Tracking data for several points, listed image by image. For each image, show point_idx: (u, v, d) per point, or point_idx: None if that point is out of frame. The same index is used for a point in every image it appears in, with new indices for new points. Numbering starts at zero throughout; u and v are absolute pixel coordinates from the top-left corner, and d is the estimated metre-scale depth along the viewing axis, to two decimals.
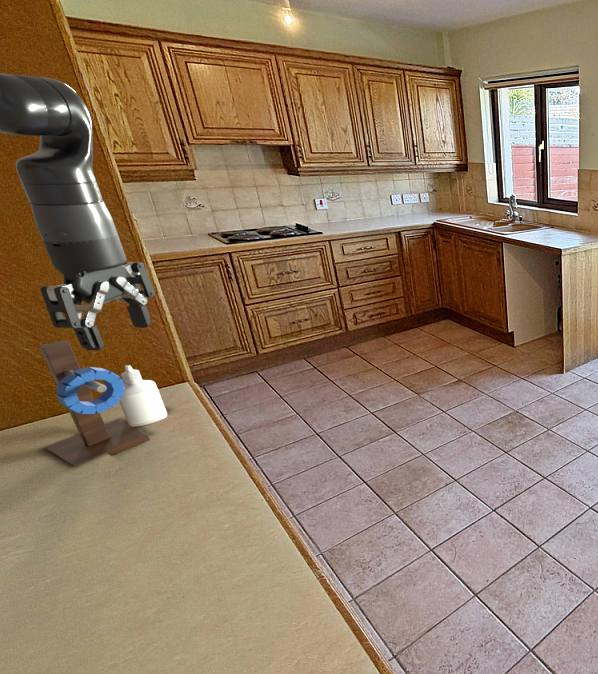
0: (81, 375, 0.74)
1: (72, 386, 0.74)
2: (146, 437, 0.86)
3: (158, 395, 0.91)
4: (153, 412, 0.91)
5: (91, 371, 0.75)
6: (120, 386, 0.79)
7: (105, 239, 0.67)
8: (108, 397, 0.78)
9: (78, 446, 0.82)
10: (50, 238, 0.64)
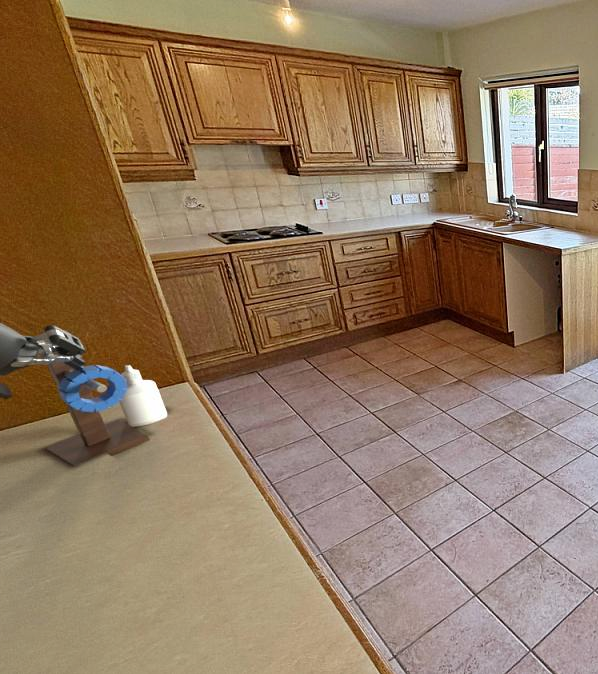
0: (73, 380, 0.74)
1: (70, 391, 0.74)
2: (146, 437, 0.86)
3: (158, 395, 0.91)
4: (153, 412, 0.91)
5: (80, 373, 0.74)
6: (119, 378, 0.79)
7: None
8: (113, 390, 0.79)
9: (78, 446, 0.82)
10: None
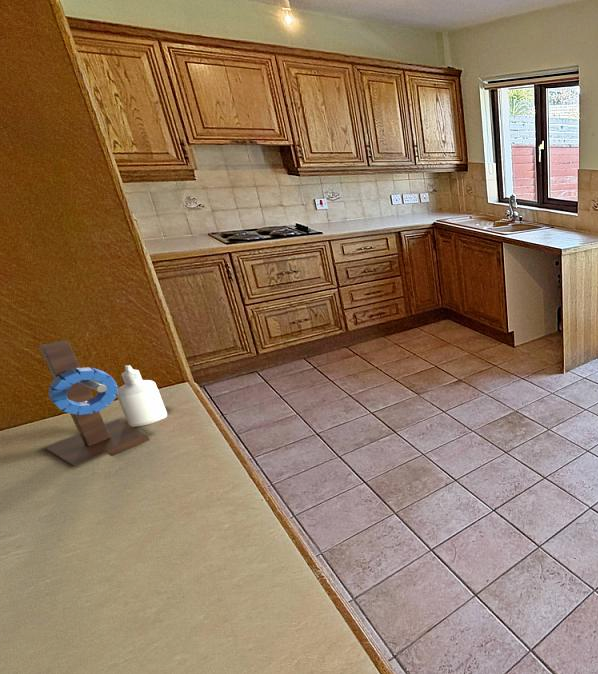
0: (65, 378, 0.73)
1: (59, 389, 0.73)
2: (146, 437, 0.86)
3: (158, 395, 0.91)
4: (153, 412, 0.91)
5: (75, 373, 0.74)
6: (111, 383, 0.78)
7: None
8: (102, 395, 0.77)
9: (78, 446, 0.82)
10: None
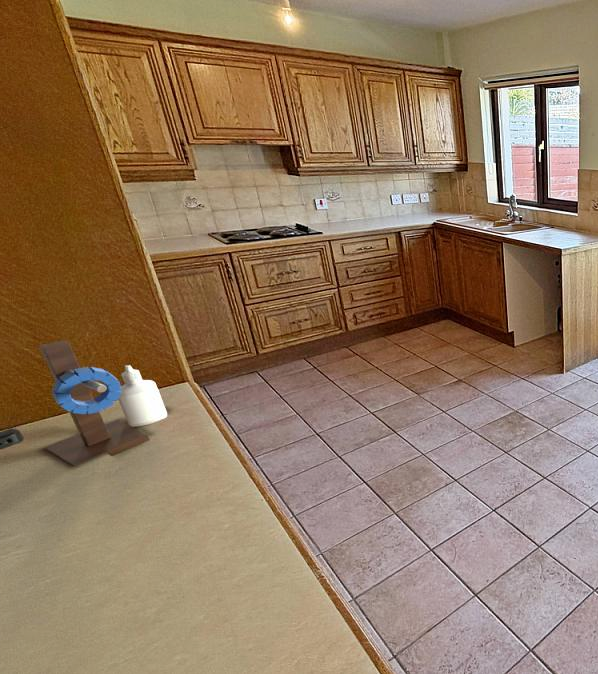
0: (65, 381, 0.73)
1: (62, 393, 0.73)
2: (146, 437, 0.86)
3: (158, 395, 0.91)
4: (153, 412, 0.91)
5: (73, 375, 0.74)
6: (112, 380, 0.78)
7: None
8: (107, 393, 0.78)
9: (78, 446, 0.82)
10: None
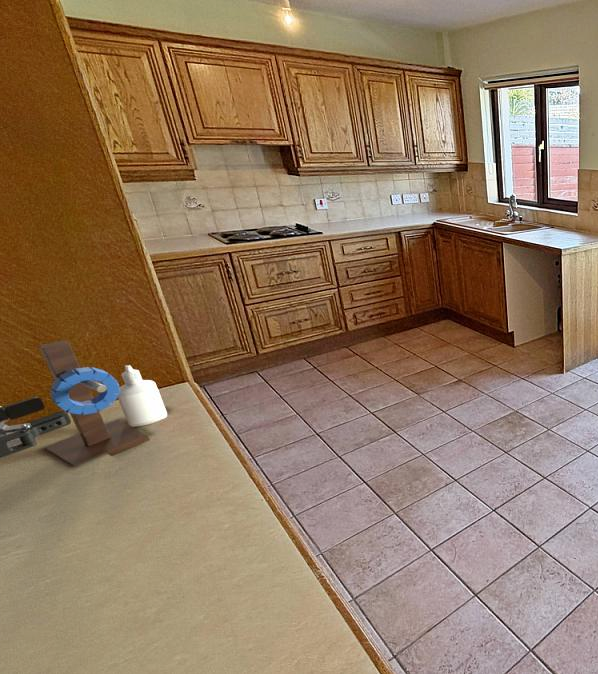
0: (65, 380, 0.73)
1: (61, 391, 0.73)
2: (146, 437, 0.86)
3: (158, 395, 0.91)
4: (153, 412, 0.91)
5: (74, 374, 0.74)
6: (112, 382, 0.78)
7: None
8: (105, 394, 0.78)
9: (78, 446, 0.82)
10: None
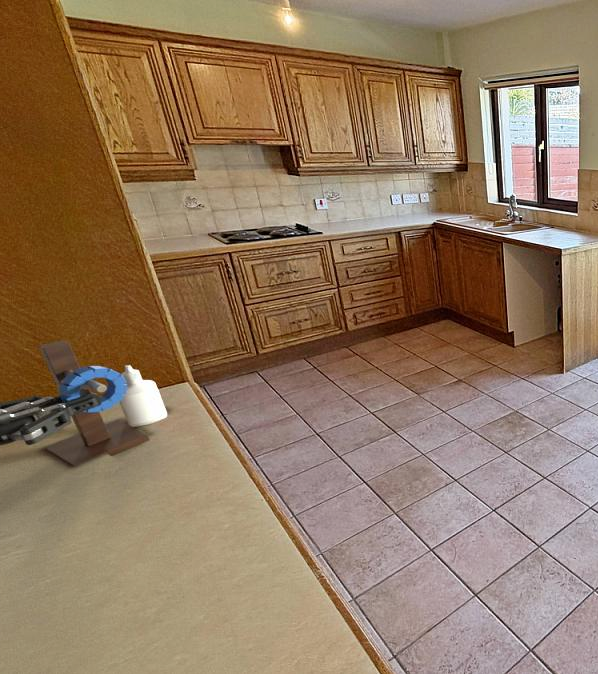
0: (70, 384, 0.73)
1: (71, 395, 0.74)
2: (146, 437, 0.86)
3: (158, 395, 0.91)
4: (153, 412, 0.91)
5: (75, 377, 0.74)
6: (115, 375, 0.78)
7: None
8: (114, 388, 0.79)
9: (78, 446, 0.82)
10: None
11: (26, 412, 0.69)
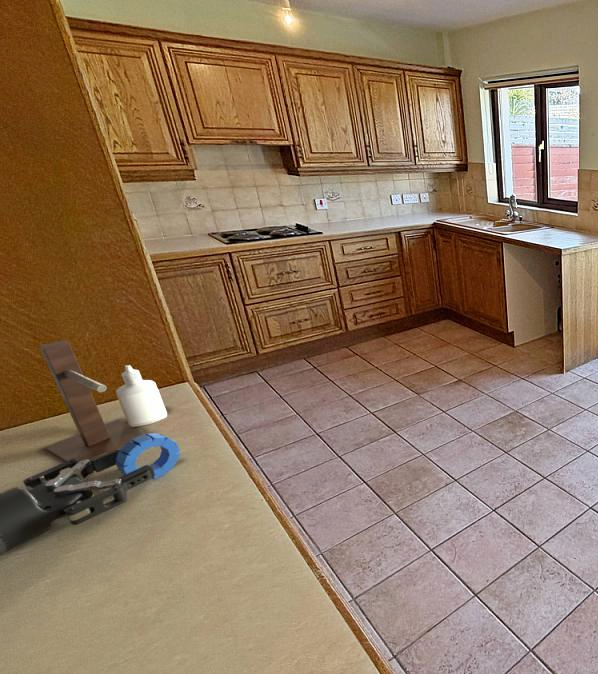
0: (129, 453, 0.74)
1: (128, 464, 0.74)
2: None
3: (158, 395, 0.91)
4: (153, 412, 0.91)
5: (135, 446, 0.74)
6: (171, 443, 0.79)
7: None
8: (167, 456, 0.79)
9: (78, 446, 0.82)
10: None
11: (82, 486, 0.68)
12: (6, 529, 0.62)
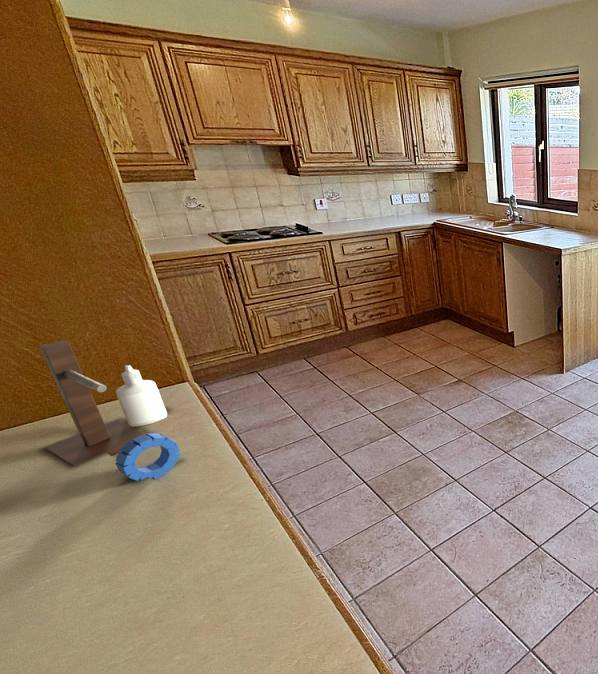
0: (129, 453, 0.74)
1: (128, 464, 0.74)
2: None
3: (158, 395, 0.91)
4: (153, 412, 0.91)
5: (135, 446, 0.74)
6: (171, 444, 0.79)
7: None
8: (167, 456, 0.79)
9: (78, 446, 0.82)
10: None
11: None
12: None
